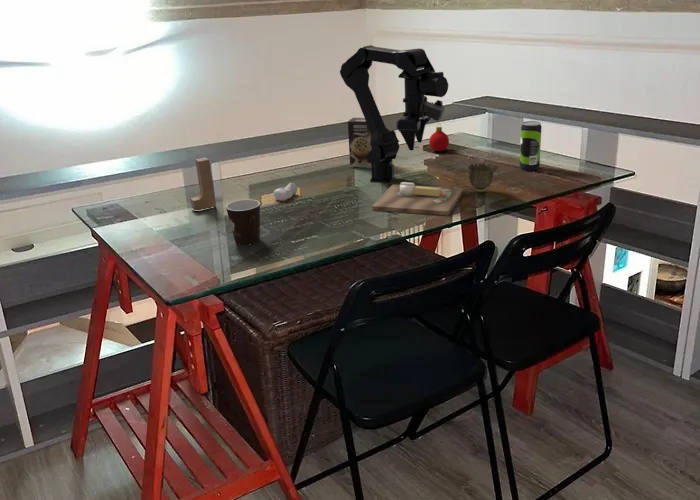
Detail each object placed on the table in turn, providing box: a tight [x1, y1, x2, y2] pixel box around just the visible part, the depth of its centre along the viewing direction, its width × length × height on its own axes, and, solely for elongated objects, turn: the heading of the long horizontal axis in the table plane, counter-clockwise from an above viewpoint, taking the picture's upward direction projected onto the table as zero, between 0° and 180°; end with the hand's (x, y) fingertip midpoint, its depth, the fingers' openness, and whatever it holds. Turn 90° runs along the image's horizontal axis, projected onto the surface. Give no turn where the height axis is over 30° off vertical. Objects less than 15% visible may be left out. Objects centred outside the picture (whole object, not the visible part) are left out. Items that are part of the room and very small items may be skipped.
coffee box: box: [347, 117, 372, 169], centre depth 229 cm, size 9×6×16 cm
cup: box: [467, 162, 495, 194], centre depth 198 cm, size 8×7×8 cm
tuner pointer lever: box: [399, 181, 446, 196], centre depth 196 cm, size 14×4×3 cm, turn 66°
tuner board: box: [371, 184, 464, 216], centre depth 195 cm, size 22×20×1 cm
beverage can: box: [519, 120, 542, 172], centre depth 215 cm, size 6×6×15 cm
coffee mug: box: [225, 198, 261, 246], centre depth 172 cm, size 12×9×10 cm
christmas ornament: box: [428, 123, 450, 152], centre depth 242 cm, size 7×7×10 cm
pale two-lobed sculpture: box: [273, 182, 298, 202], centre depth 205 cm, size 4×8×5 cm
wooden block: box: [189, 157, 217, 210], centre depth 197 cm, size 7×3×15 cm, turn 121°
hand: (415, 146), depth 202 cm, fingers open, 9 cm apart
